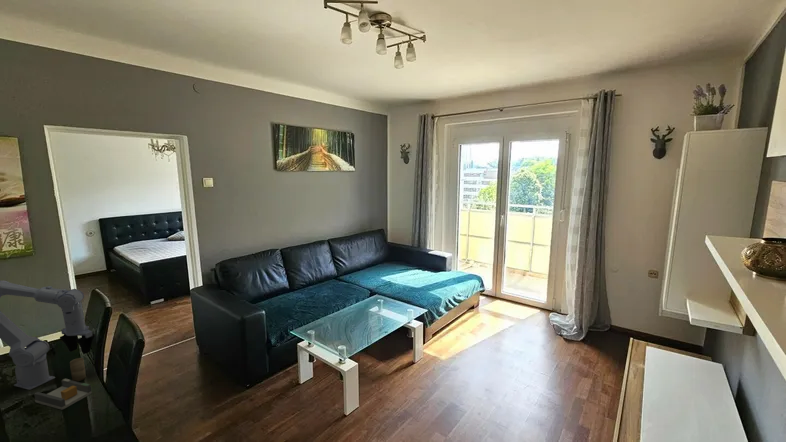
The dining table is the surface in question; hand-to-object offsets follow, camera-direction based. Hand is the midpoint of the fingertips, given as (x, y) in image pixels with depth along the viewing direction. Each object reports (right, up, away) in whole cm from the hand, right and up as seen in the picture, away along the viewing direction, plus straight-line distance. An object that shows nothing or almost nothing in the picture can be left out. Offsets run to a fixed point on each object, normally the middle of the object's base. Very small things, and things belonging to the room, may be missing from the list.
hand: (80, 351), depth 133 cm
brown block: (+1, -11, -1) cm, 11 cm away
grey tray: (+6, -12, -12) cm, 18 cm away
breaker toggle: (+9, -11, -13) cm, 20 cm away
